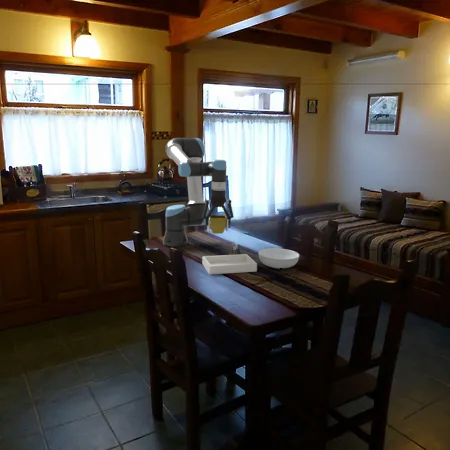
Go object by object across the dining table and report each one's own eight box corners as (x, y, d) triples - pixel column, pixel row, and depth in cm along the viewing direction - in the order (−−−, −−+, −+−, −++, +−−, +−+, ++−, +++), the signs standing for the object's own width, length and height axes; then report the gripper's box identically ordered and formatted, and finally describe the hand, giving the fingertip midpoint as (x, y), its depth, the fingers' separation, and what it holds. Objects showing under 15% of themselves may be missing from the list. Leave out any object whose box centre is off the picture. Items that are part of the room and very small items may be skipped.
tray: (202, 263, 222) (202, 256, 221) (246, 261, 228) (246, 254, 227) (209, 274, 206) (209, 266, 205) (256, 271, 212) (256, 263, 211)
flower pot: (209, 234, 225) (209, 217, 223) (209, 230, 234) (209, 214, 232) (226, 234, 226) (226, 218, 224) (225, 230, 234) (225, 214, 232)
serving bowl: (297, 274, 210) (298, 260, 208) (255, 270, 214) (256, 257, 212) (299, 261, 230) (300, 249, 228) (260, 258, 234) (261, 246, 232)
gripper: (199, 190, 218) (198, 233, 223) (240, 190, 224) (239, 231, 229) (196, 188, 225) (196, 230, 230) (236, 188, 231) (235, 228, 236)
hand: (217, 230), depth 230 cm, fingers closed on flower pot, 9 cm apart
